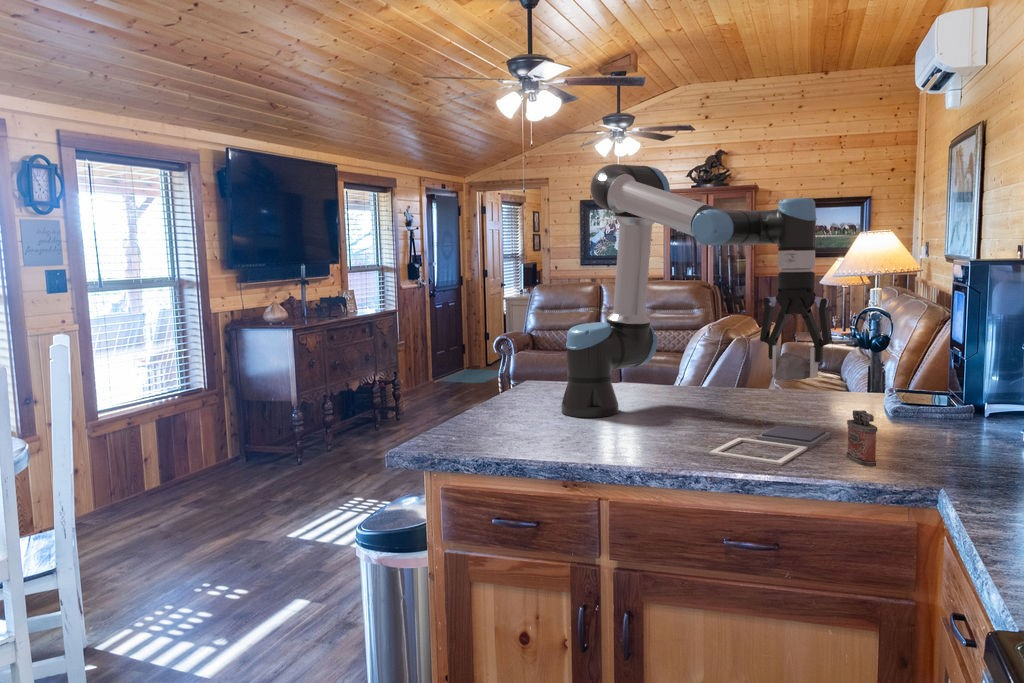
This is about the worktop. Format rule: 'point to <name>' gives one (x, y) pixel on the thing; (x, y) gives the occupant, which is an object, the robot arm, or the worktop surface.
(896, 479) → the worktop surface
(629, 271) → the robot arm
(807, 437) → the ink pad
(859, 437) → the lighter
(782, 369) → the stone
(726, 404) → the worktop surface
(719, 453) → the white flat square frame
